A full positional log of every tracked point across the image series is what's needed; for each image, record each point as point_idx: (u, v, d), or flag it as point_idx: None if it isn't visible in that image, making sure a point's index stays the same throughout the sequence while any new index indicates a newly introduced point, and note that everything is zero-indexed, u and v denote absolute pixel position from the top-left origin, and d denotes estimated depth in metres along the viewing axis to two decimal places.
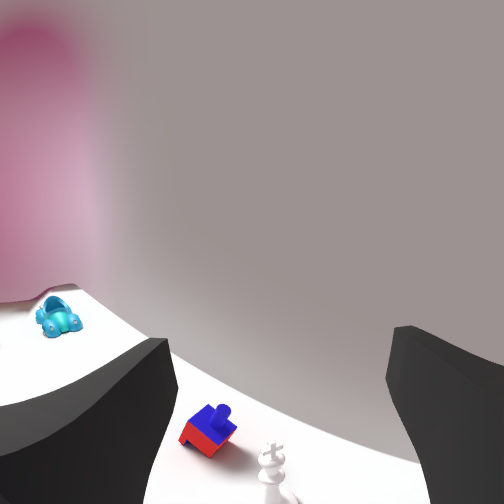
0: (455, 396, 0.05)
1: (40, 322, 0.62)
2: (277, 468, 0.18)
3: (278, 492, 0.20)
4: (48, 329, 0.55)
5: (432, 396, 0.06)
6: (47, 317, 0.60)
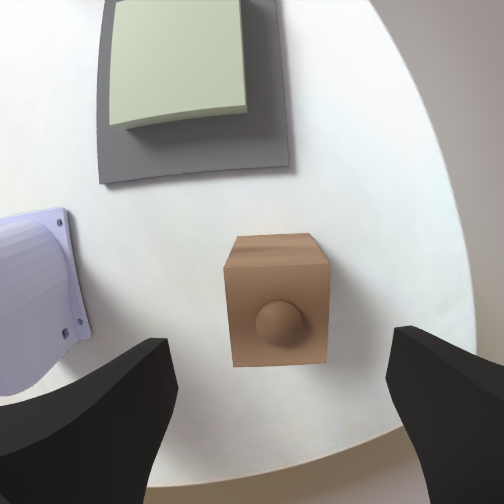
0: (455, 396, 0.05)
1: None
2: None
3: None
4: None
5: (432, 396, 0.06)
6: None
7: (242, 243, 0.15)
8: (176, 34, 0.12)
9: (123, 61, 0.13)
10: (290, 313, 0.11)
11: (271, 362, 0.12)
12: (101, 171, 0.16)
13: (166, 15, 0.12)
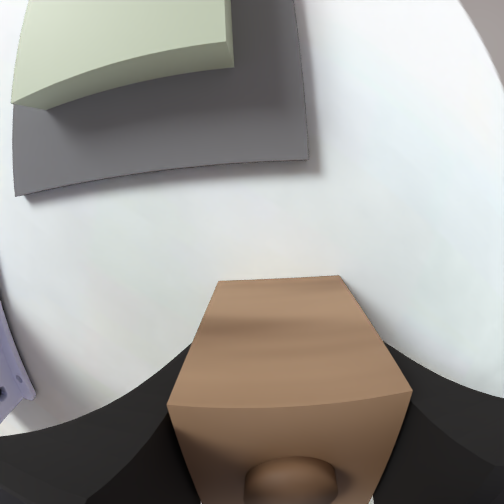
0: None
1: None
2: None
3: None
4: None
5: None
6: None
7: (223, 303, 0.08)
8: None
9: (40, 7, 0.05)
10: (316, 485, 0.04)
11: None
12: (16, 177, 0.09)
13: None
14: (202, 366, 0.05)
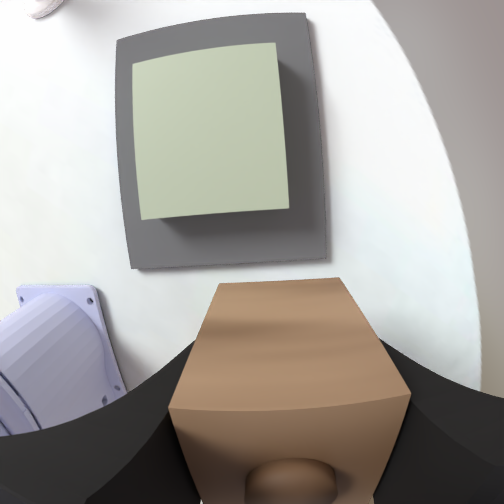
0: None
1: None
2: None
3: None
4: None
5: None
6: None
7: (224, 306, 0.08)
8: (209, 116, 0.13)
9: (149, 144, 0.13)
10: (315, 486, 0.04)
11: None
12: (132, 256, 0.17)
13: (195, 88, 0.12)
14: (203, 369, 0.05)
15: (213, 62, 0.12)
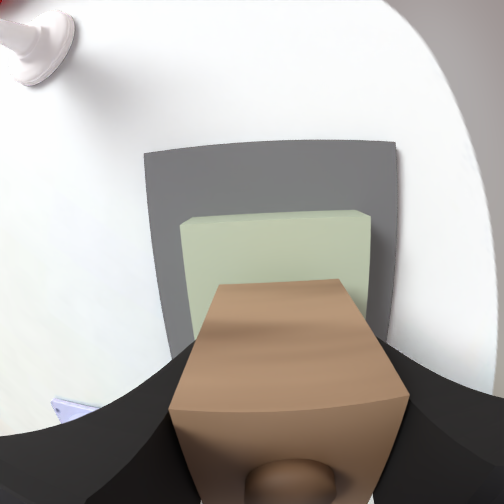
0: None
1: None
2: None
3: (14, 34, 0.08)
4: None
5: None
6: None
7: (224, 307, 0.08)
8: None
9: None
10: (315, 486, 0.04)
11: None
12: None
13: (269, 276, 0.11)
14: (203, 370, 0.06)
15: (293, 240, 0.11)
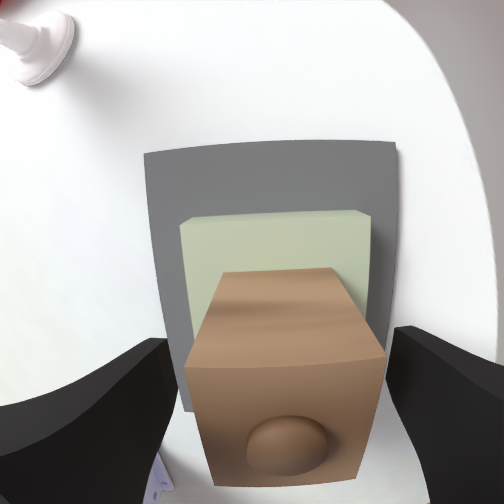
0: (455, 396, 0.05)
1: None
2: None
3: (14, 34, 0.08)
4: None
5: (433, 396, 0.06)
6: None
7: (228, 290, 0.10)
8: None
9: None
10: (308, 441, 0.05)
11: (272, 483, 0.07)
12: (185, 402, 0.16)
13: None
14: (212, 338, 0.07)
15: (293, 240, 0.11)
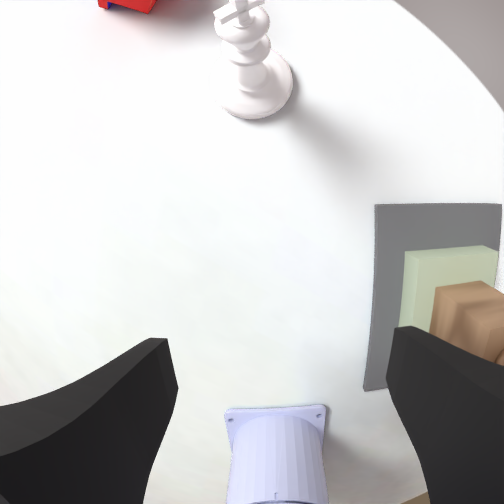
0: (455, 396, 0.05)
1: None
2: (255, 42, 0.09)
3: (260, 68, 0.13)
4: None
5: (433, 396, 0.06)
6: None
7: (455, 297, 0.15)
8: None
9: (421, 325, 0.17)
10: None
11: None
12: (368, 384, 0.21)
13: None
14: (483, 318, 0.12)
15: (468, 266, 0.16)
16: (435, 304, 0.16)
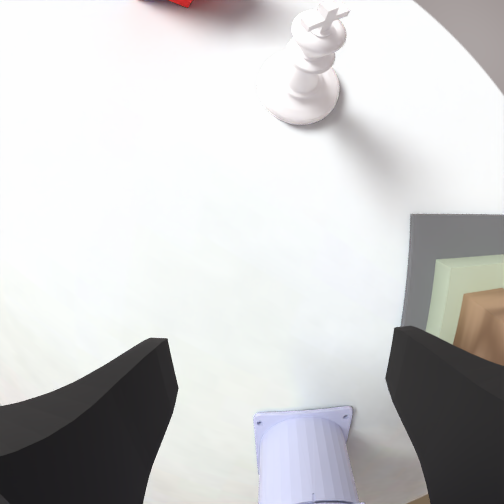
0: (455, 396, 0.05)
1: None
2: (331, 53, 0.09)
3: (316, 75, 0.13)
4: None
5: (433, 396, 0.06)
6: None
7: (483, 303, 0.15)
8: None
9: (449, 330, 0.17)
10: None
11: None
12: None
13: None
14: None
15: (492, 275, 0.16)
16: (462, 310, 0.16)
